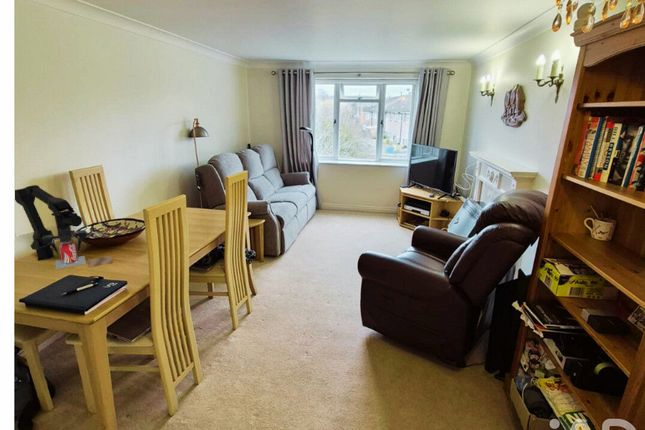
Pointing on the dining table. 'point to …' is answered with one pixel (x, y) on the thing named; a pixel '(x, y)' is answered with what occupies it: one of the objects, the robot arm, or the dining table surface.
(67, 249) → the soda can
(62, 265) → the plate
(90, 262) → the pad
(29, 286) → the dining table surface
